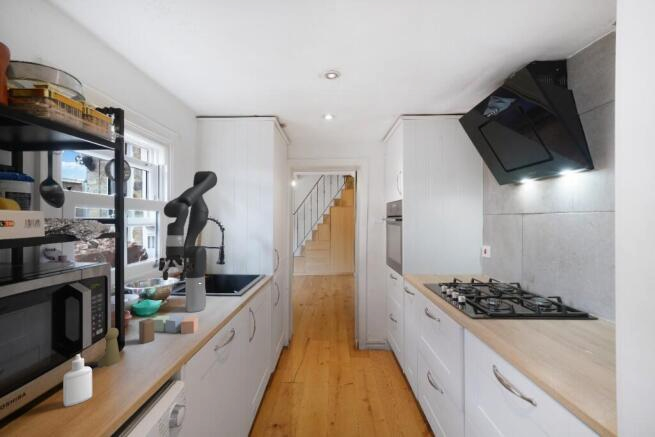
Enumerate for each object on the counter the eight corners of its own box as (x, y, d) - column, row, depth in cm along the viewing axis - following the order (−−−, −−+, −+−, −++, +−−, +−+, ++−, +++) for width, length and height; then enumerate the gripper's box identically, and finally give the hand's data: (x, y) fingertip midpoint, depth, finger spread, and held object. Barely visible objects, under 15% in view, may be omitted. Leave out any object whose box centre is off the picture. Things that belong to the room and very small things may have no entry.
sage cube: (158, 327, 129) (158, 315, 129) (169, 327, 129) (169, 315, 129) (151, 331, 124) (151, 319, 124) (163, 331, 124) (163, 319, 124)
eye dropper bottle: (87, 403, 75) (87, 356, 75) (60, 408, 73) (60, 360, 73) (94, 394, 79) (94, 349, 79) (68, 398, 77) (68, 352, 77)
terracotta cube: (186, 329, 126) (186, 317, 126) (198, 328, 126) (198, 317, 126) (181, 333, 121) (181, 321, 121) (193, 333, 121) (193, 321, 121)
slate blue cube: (174, 327, 128) (174, 316, 128) (184, 328, 127) (184, 317, 127) (165, 331, 123) (165, 320, 123) (175, 333, 122) (175, 321, 122)
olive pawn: (124, 359, 99) (124, 326, 99) (105, 368, 93) (105, 333, 93) (111, 356, 101) (111, 324, 101) (92, 365, 95) (92, 331, 95)
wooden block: (138, 341, 113) (138, 321, 113) (149, 338, 116) (149, 318, 116) (144, 344, 111) (143, 322, 111) (154, 340, 114) (154, 319, 114)
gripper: (193, 245, 139) (192, 279, 138) (167, 244, 142) (165, 278, 141) (183, 245, 132) (182, 282, 131) (155, 245, 134) (154, 281, 133)
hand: (173, 280), depth 136 cm, fingers open, 8 cm apart
